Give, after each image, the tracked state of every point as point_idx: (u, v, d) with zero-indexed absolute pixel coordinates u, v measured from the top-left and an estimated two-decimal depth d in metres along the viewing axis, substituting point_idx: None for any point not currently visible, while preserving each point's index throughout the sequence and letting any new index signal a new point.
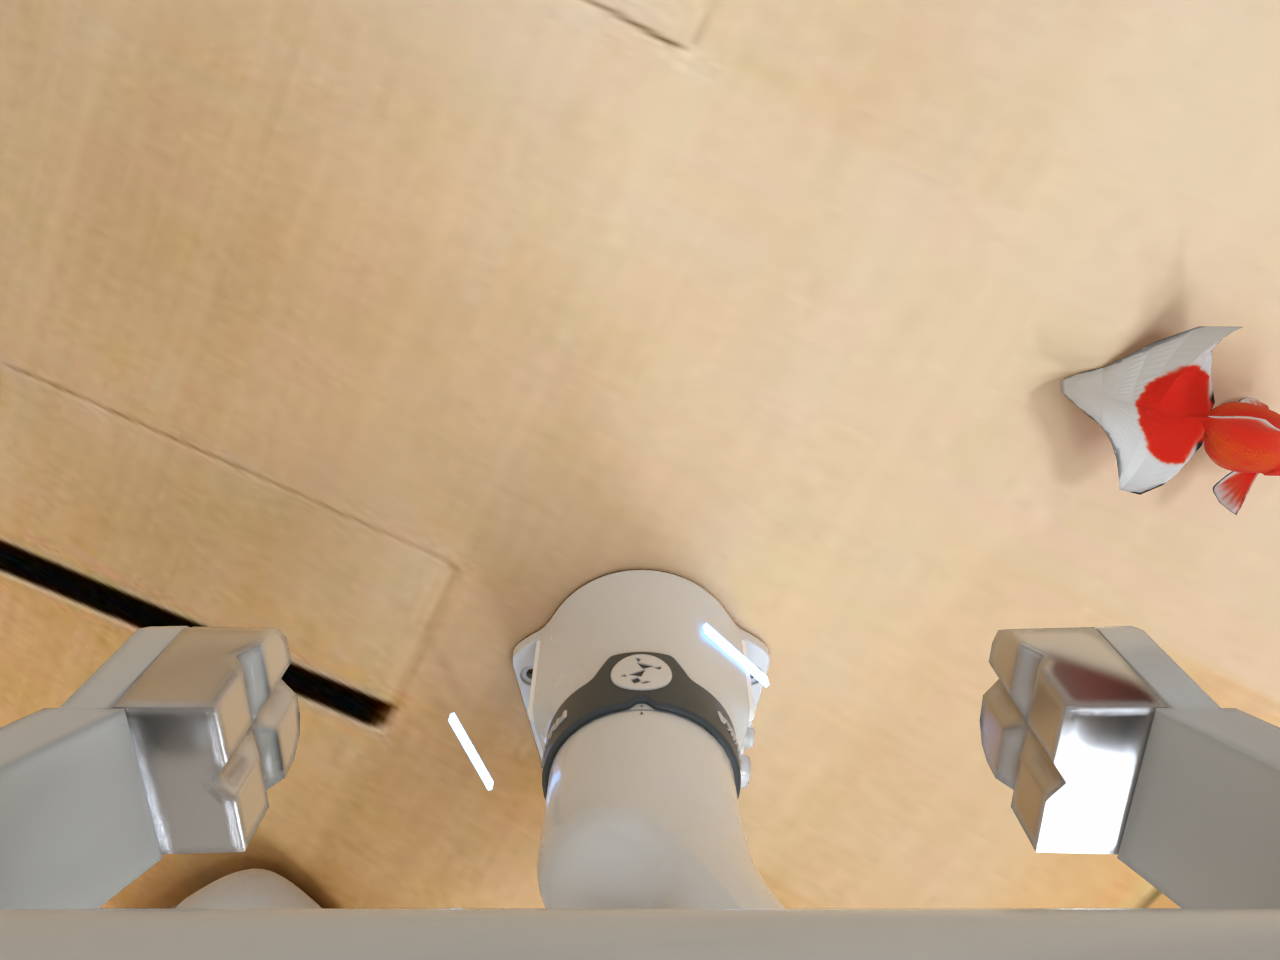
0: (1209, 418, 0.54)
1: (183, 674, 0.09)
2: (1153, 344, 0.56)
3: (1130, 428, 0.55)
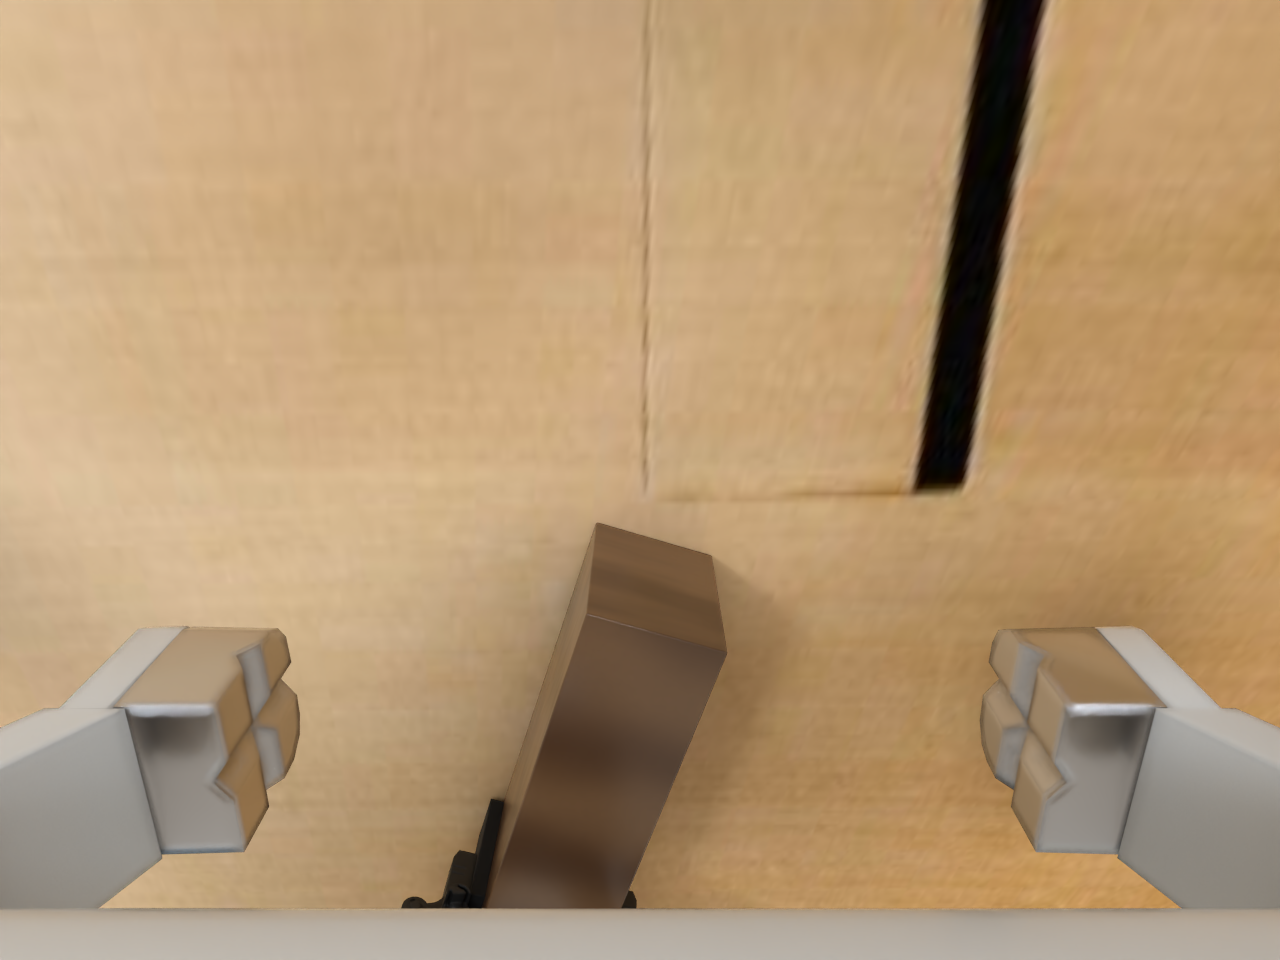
0: None
1: (183, 674, 0.09)
2: None
3: None
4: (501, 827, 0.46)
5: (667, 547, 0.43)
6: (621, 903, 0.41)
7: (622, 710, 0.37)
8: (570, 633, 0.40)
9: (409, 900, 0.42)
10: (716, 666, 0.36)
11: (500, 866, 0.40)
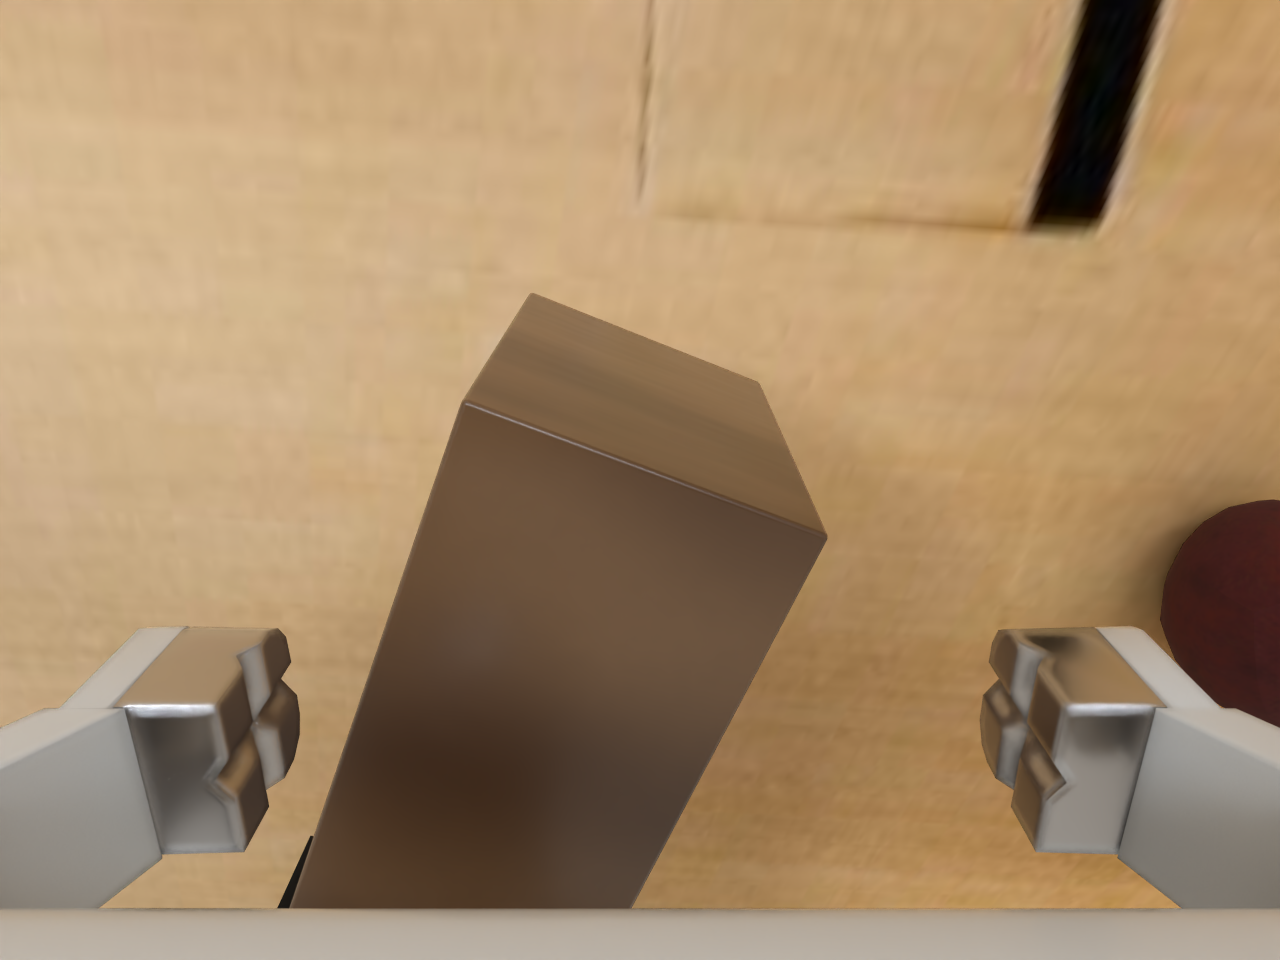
0: None
1: (183, 674, 0.09)
2: None
3: None
4: None
5: (672, 352, 0.21)
6: None
7: (548, 672, 0.15)
8: None
9: None
10: (797, 573, 0.14)
11: None
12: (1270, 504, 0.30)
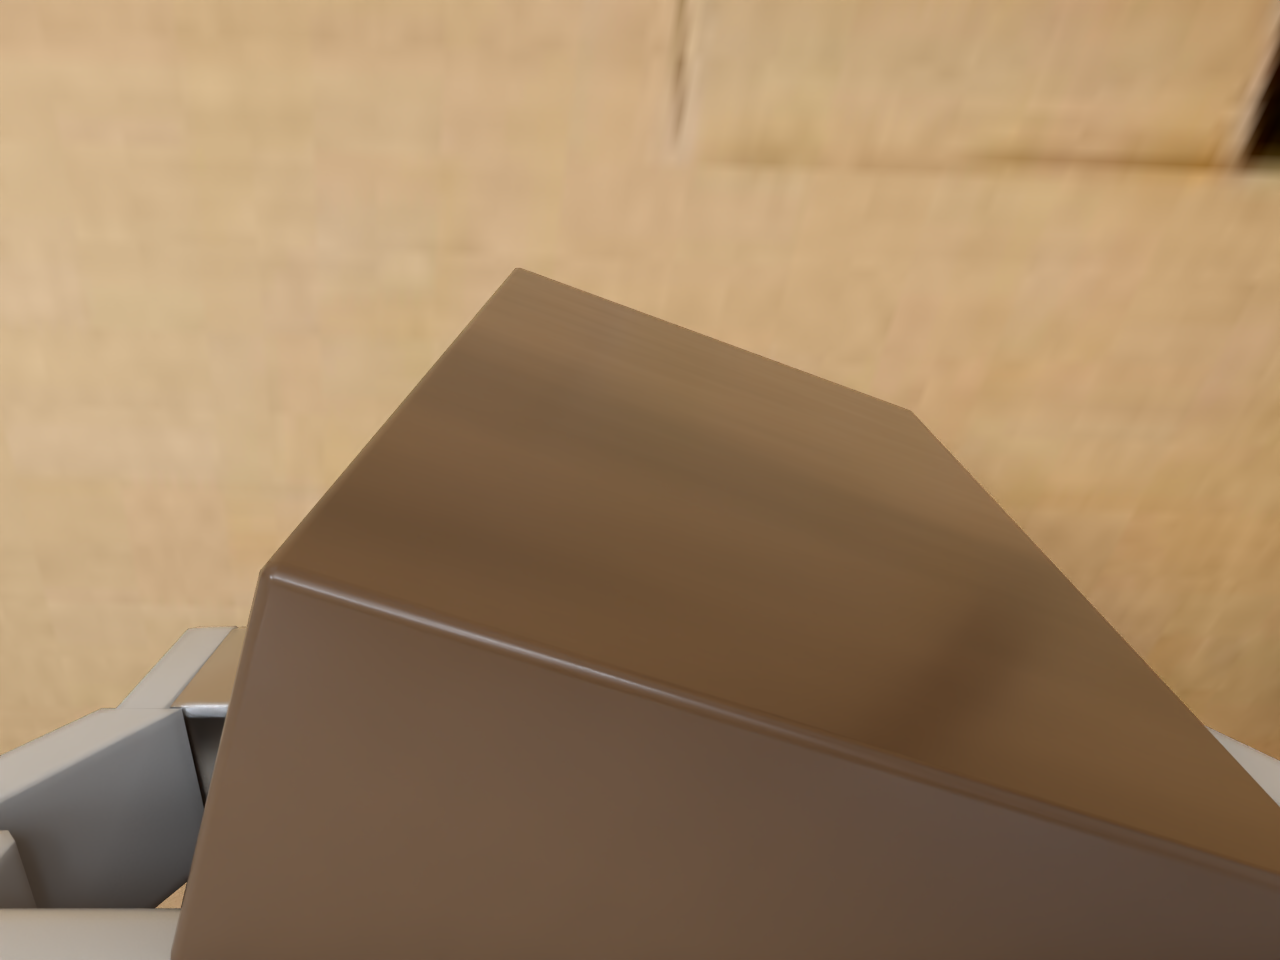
0: None
1: None
2: None
3: None
4: None
5: (768, 365, 0.12)
6: None
7: None
8: None
9: None
10: None
11: None
12: None
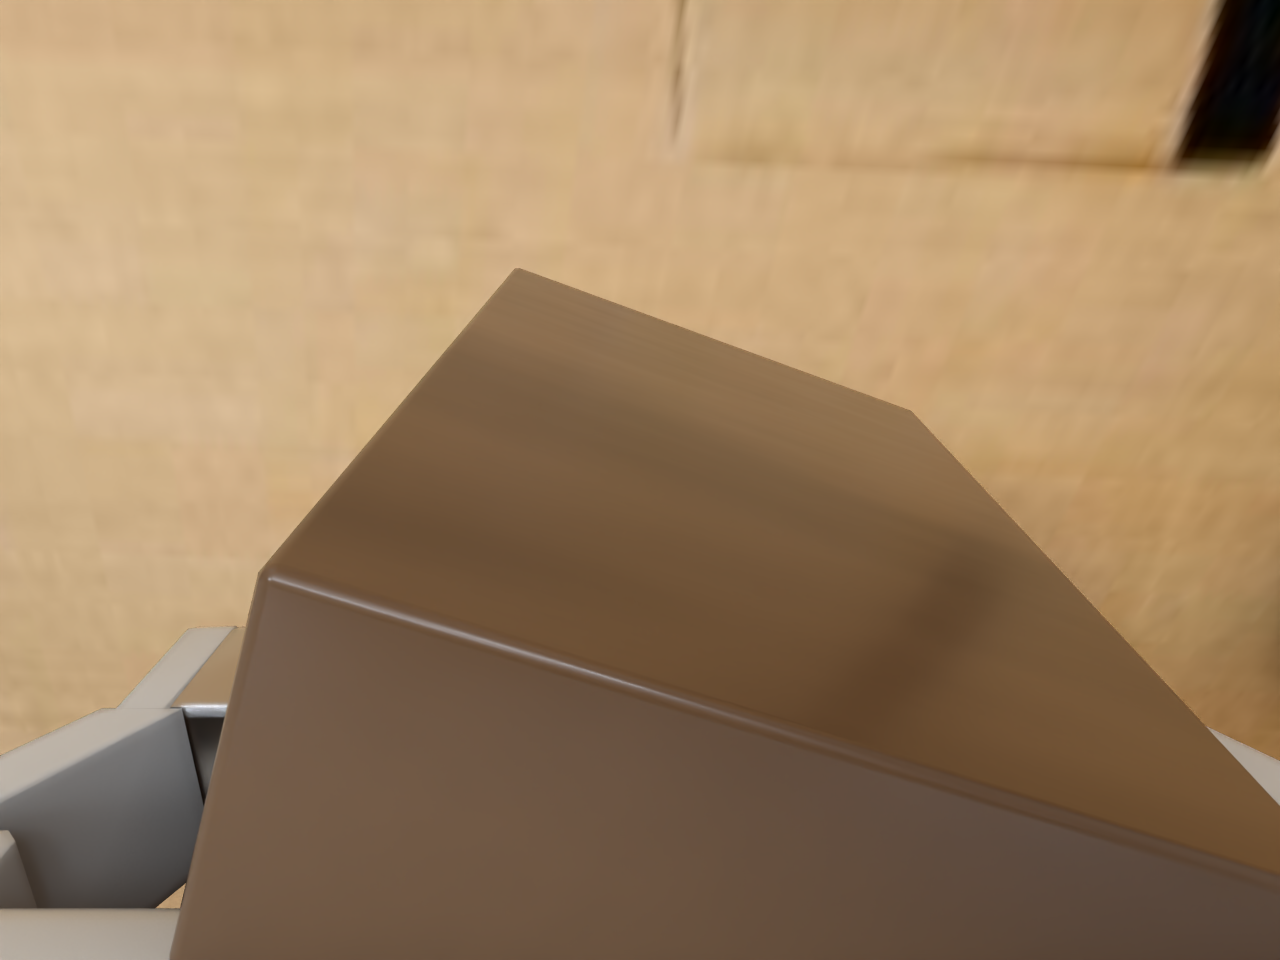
0: None
1: None
2: None
3: None
4: None
5: (767, 365, 0.12)
6: None
7: None
8: None
9: None
10: None
11: None
12: None
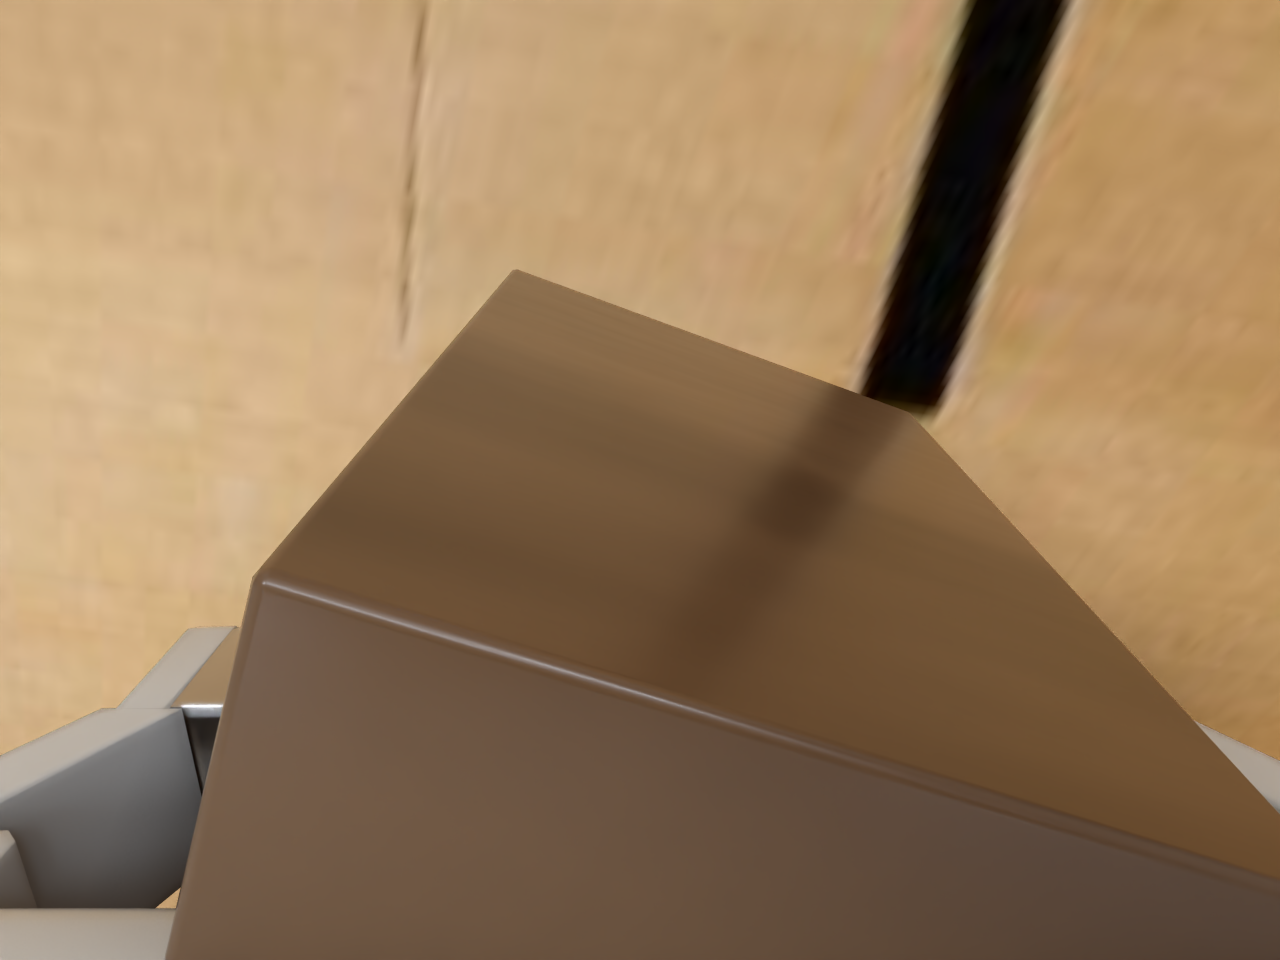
0: None
1: None
2: None
3: None
4: None
5: (766, 367, 0.12)
6: None
7: None
8: None
9: None
10: None
11: None
12: None
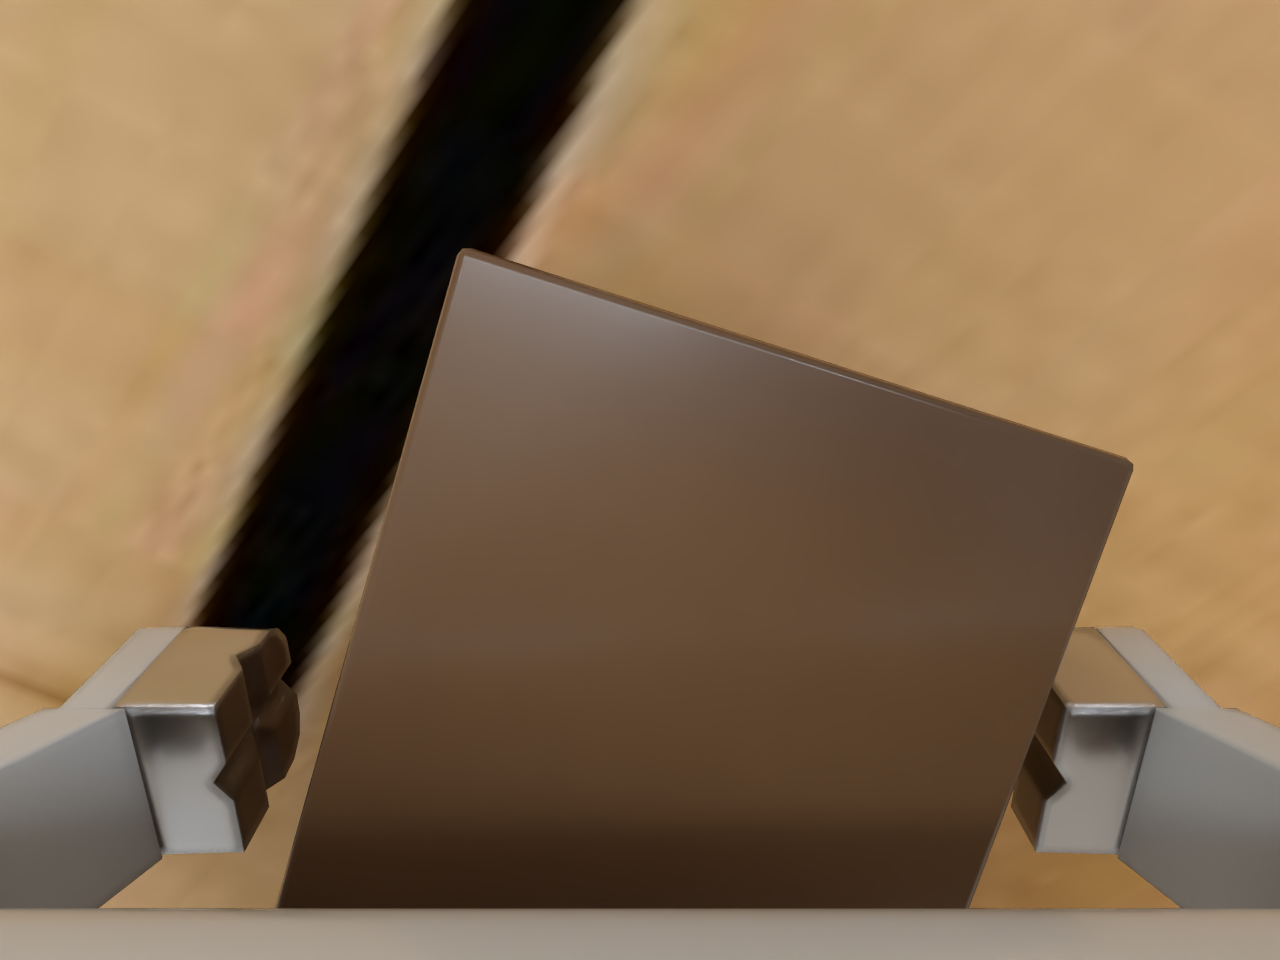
0: None
1: (183, 674, 0.09)
2: None
3: None
4: None
5: None
6: None
7: (643, 791, 0.08)
8: None
9: None
10: (1087, 540, 0.08)
11: None
12: None
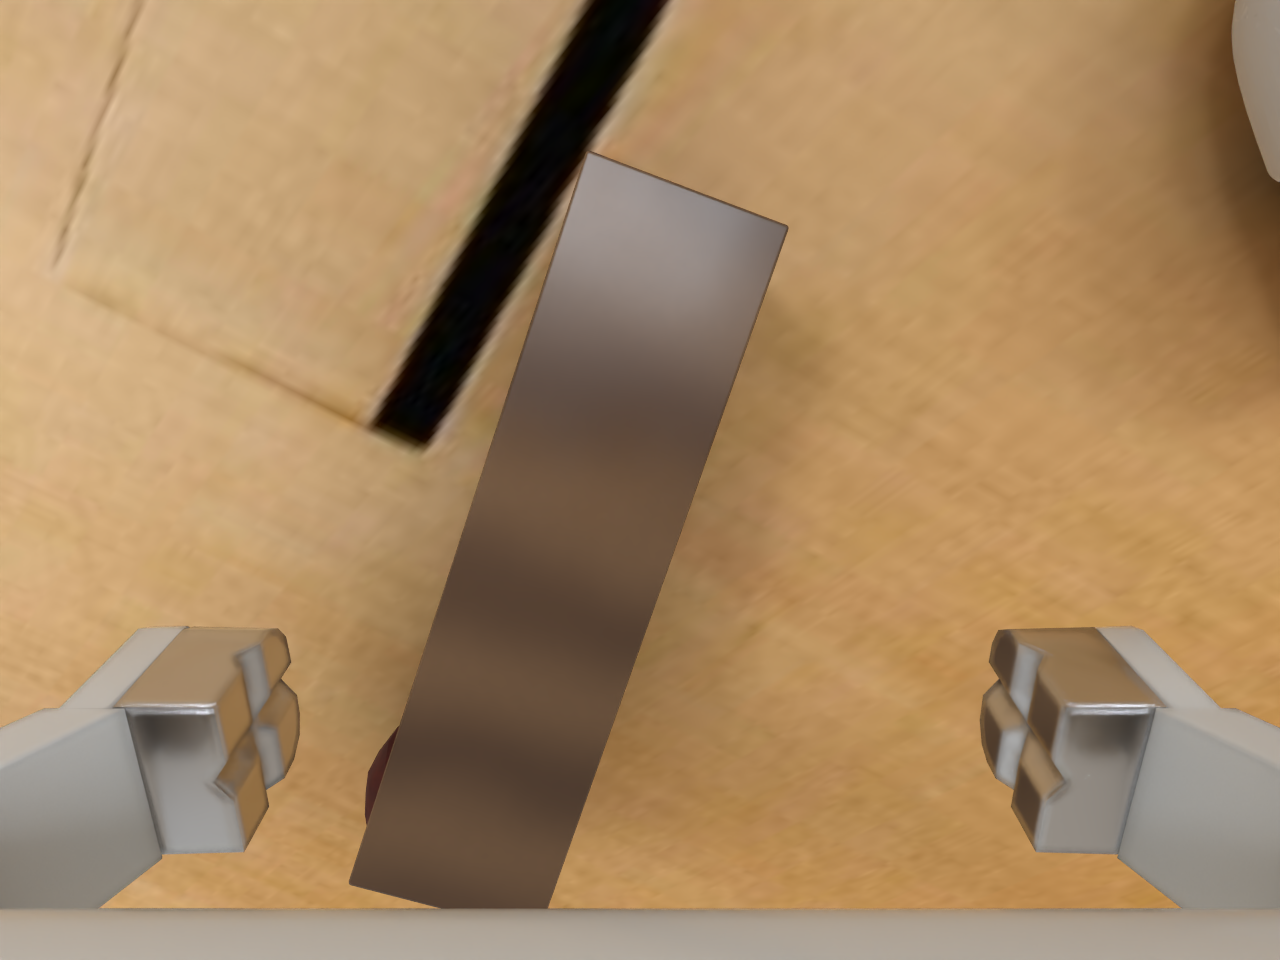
0: None
1: (183, 674, 0.09)
2: None
3: None
4: None
5: None
6: (623, 687, 0.26)
7: (635, 323, 0.25)
8: None
9: None
10: (773, 249, 0.25)
11: (435, 617, 0.26)
12: None
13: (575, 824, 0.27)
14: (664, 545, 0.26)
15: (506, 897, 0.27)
